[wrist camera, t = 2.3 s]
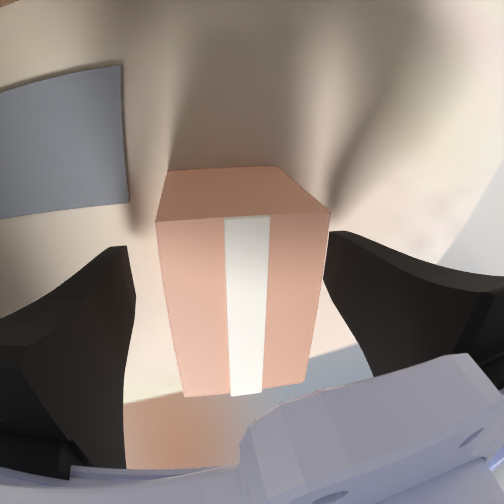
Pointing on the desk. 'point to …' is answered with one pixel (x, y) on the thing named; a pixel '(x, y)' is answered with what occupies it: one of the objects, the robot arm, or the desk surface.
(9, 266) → the desk surface
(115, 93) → the pad
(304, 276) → the block
